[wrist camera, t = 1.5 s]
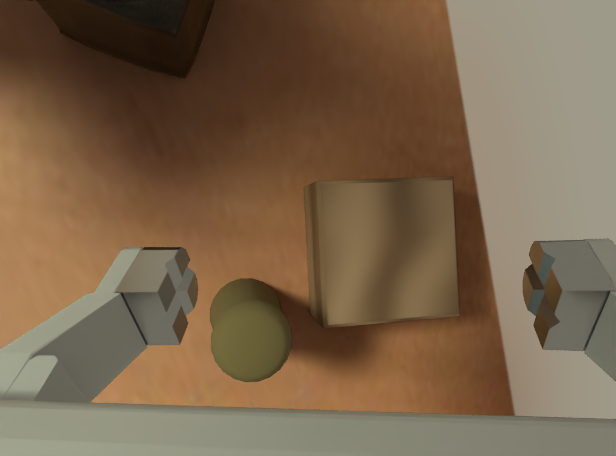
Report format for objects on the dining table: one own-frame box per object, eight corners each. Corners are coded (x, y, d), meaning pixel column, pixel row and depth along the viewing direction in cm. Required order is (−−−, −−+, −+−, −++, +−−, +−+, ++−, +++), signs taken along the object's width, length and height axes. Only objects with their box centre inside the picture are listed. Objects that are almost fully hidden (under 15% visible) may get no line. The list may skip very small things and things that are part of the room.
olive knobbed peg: (295, 312, 39) (322, 344, 29) (245, 364, 39) (252, 416, 28) (246, 263, 39) (254, 276, 28) (194, 315, 38) (181, 349, 27)
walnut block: (310, 314, 40) (324, 329, 34) (303, 187, 40) (317, 180, 34) (429, 304, 42) (462, 317, 36) (423, 183, 42) (455, 175, 36)
